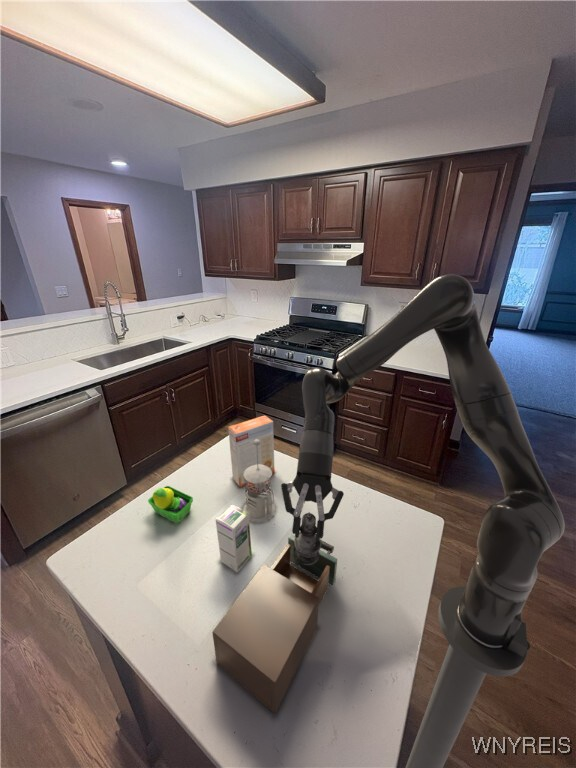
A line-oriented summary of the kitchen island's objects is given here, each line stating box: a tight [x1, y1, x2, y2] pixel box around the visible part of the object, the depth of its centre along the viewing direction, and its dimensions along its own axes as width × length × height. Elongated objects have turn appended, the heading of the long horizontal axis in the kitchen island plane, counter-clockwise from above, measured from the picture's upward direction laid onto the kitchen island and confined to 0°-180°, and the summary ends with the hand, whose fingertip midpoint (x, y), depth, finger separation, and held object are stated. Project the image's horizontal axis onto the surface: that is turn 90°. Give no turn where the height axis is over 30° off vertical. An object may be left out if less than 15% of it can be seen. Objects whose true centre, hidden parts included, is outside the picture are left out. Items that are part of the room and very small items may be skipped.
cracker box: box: [227, 414, 275, 488], centre depth 105 cm, size 14×6×21 cm, turn 124°
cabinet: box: [212, 563, 320, 715], centre depth 60 cm, size 16×14×10 cm
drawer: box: [270, 534, 338, 606], centre depth 71 cm, size 19×12×8 cm, turn 148°
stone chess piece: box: [294, 511, 322, 565], centre depth 66 cm, size 6×6×12 cm
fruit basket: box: [147, 485, 194, 524], centre depth 91 cm, size 11×9×11 cm
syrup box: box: [215, 504, 253, 573], centre depth 77 cm, size 6×6×14 cm
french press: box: [242, 439, 276, 524], centre depth 89 cm, size 10×12×25 cm
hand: (306, 538), depth 63 cm, fingers closed on stone chess piece, 3 cm apart
